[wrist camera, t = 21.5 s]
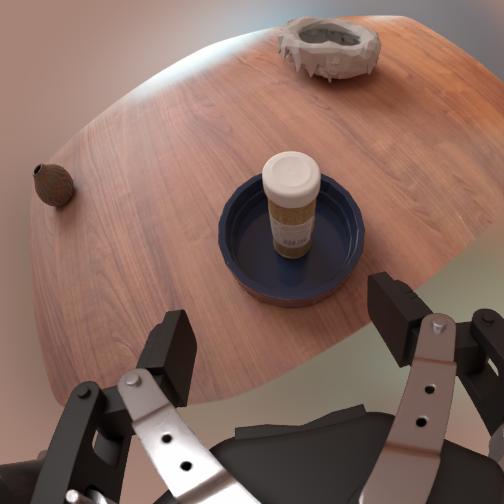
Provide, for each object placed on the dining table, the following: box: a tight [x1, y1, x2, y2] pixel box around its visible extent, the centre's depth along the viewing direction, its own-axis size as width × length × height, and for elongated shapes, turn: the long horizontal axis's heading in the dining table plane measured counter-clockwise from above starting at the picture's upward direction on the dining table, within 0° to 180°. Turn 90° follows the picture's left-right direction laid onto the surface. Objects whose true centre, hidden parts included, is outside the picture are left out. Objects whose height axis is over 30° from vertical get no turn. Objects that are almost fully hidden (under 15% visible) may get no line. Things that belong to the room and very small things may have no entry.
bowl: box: [278, 16, 381, 83], centre depth 42 cm, size 21×20×10 cm
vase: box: [33, 164, 73, 207], centre depth 38 cm, size 7×7×9 cm
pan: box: [218, 173, 365, 308], centre depth 31 cm, size 16×16×4 cm
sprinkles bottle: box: [262, 151, 321, 259], centre depth 27 cm, size 5×4×13 cm
